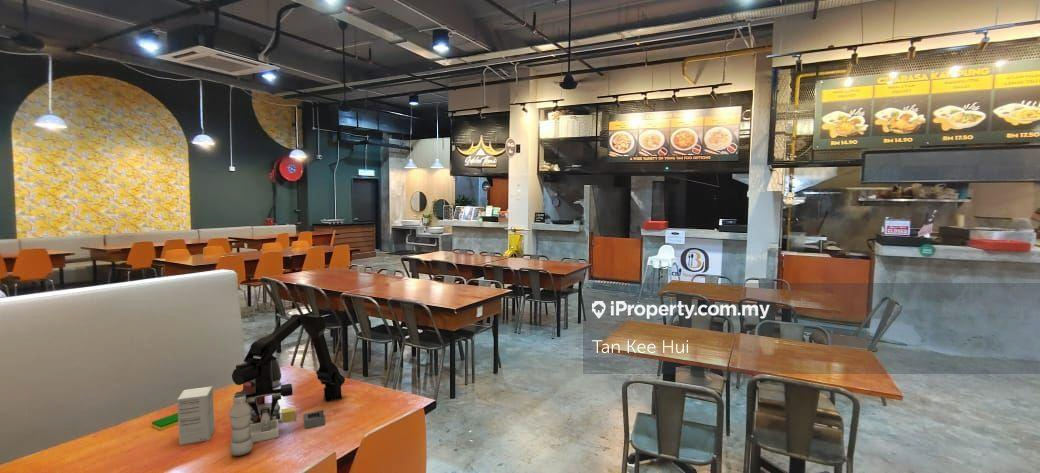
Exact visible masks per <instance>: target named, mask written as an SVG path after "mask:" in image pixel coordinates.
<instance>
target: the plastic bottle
mask: <svg viewBox="0 0 1040 473" xmlns="http://www.w3.org/2000/svg"><path fill="white" fill-rule="evenodd" d="M232 399H233V400H232V403H233V405H232V406H231V408H230V409H229V413H228V415H229V420H230V426H231V442H230V447H229V449H230V450H229V451H230V453H231V454H232V455H233V456H237V457H238V456H243V455H247V454H248V453H250V452H251V450H252V449H253V444H254V443H253V442H252V438H251V432H250V419H251V407H250V405H249V404H248V403H246V395H245V394H239V395H235V394H234V395H233V396H232Z"/></svg>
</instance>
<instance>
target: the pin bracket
mask: <svg viewBox="0 0 1040 473" xmlns="http://www.w3.org/2000/svg"><path fill="white" fill-rule="evenodd" d="M302 416H303V425H304V427H303V428H304V430H307V429H311V428H316V427H317V428H318V427H321V426H325V422H326V421H325V418H326V417H325V415H324V410H323V409H322V410H317V411H313V412H307V413H303V414H302Z"/></svg>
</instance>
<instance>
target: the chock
mask: <svg viewBox="0 0 1040 473" xmlns="http://www.w3.org/2000/svg"><path fill="white" fill-rule="evenodd" d="M280 411H281V412H280V420H281V423H282V424H284V423H290V422H293V421H297V415H296V414H297V413H296V406H292V407H287V408H280Z"/></svg>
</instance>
